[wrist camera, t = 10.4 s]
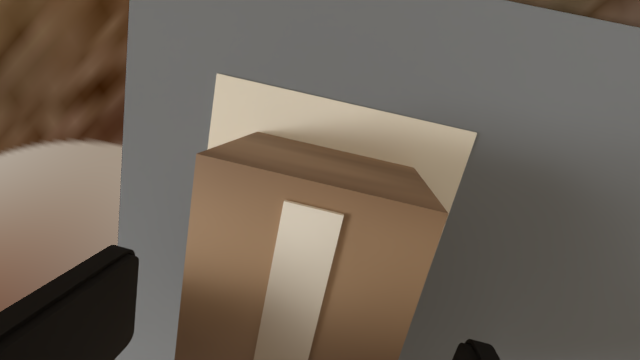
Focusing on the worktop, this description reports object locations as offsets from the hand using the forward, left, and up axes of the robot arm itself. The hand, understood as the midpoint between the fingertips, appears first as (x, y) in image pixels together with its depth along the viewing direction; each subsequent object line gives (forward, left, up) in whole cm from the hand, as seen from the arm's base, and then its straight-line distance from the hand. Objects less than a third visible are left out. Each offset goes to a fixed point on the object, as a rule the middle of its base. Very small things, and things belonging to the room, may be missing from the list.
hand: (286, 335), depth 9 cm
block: (0, 0, -2) cm, 2 cm away
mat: (-5, -1, -3) cm, 6 cm away
